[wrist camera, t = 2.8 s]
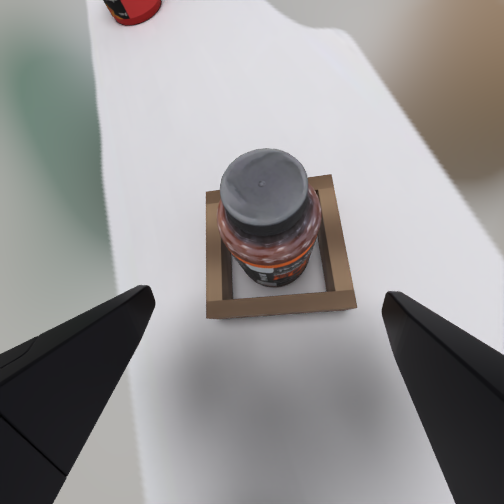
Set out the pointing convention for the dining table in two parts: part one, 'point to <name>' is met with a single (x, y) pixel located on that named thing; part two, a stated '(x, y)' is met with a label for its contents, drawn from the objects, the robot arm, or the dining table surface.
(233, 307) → the walnut socket holder
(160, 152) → the dining table surface
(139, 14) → the canned food
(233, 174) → the supplement bottle
